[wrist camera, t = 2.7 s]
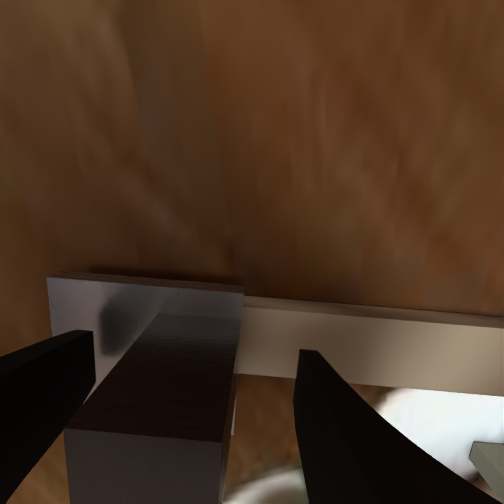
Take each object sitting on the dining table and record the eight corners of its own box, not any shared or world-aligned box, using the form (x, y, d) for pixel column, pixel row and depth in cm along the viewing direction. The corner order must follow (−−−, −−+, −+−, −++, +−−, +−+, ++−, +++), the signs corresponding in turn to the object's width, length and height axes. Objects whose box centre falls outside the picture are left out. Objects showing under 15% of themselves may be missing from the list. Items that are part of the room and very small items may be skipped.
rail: (133, 347, 13) (120, 362, 12) (131, 286, 12) (118, 296, 11) (527, 381, 13) (553, 400, 12) (547, 320, 12) (577, 334, 11)
